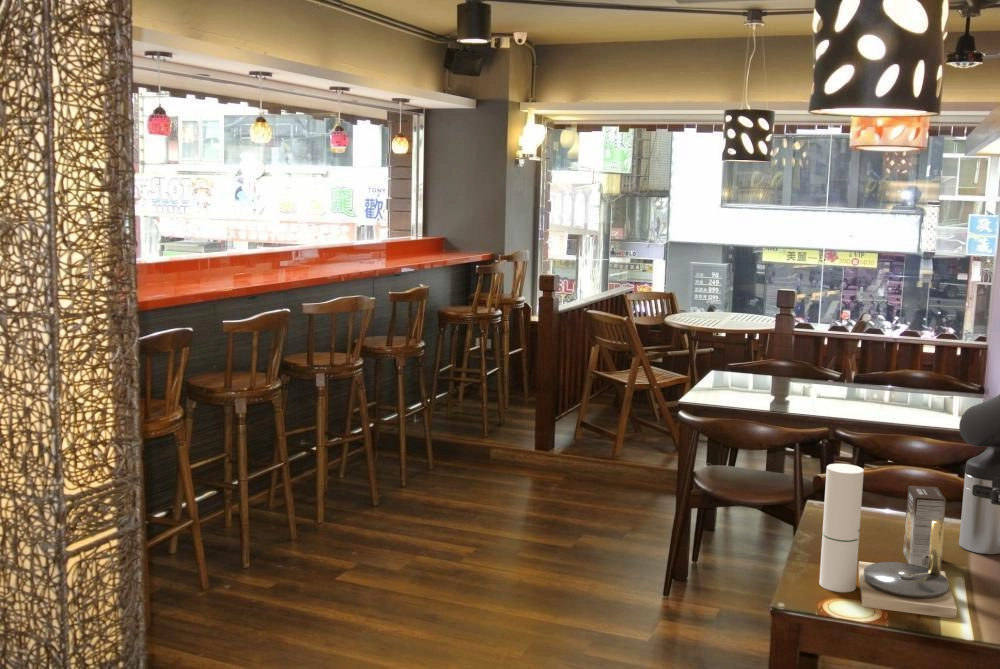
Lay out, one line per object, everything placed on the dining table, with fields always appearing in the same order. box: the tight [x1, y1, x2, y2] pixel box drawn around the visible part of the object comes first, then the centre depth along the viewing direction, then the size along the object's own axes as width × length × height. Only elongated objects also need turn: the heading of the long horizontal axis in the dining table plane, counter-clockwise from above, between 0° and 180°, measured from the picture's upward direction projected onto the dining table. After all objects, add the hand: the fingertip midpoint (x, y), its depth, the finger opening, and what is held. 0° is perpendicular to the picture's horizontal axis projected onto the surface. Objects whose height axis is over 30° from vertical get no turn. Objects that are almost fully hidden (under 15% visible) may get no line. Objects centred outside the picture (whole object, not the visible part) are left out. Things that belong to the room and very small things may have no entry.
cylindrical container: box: [818, 463, 865, 593], centre depth 207 cm, size 7×7×25 cm
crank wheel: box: [863, 520, 949, 598], centre depth 204 cm, size 16×16×12 cm
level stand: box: [857, 560, 958, 619], centre depth 205 cm, size 20×17×2 cm
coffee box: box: [903, 485, 946, 568], centre depth 221 cm, size 9×6×16 cm
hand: (983, 485), depth 198 cm, fingers open, 8 cm apart
